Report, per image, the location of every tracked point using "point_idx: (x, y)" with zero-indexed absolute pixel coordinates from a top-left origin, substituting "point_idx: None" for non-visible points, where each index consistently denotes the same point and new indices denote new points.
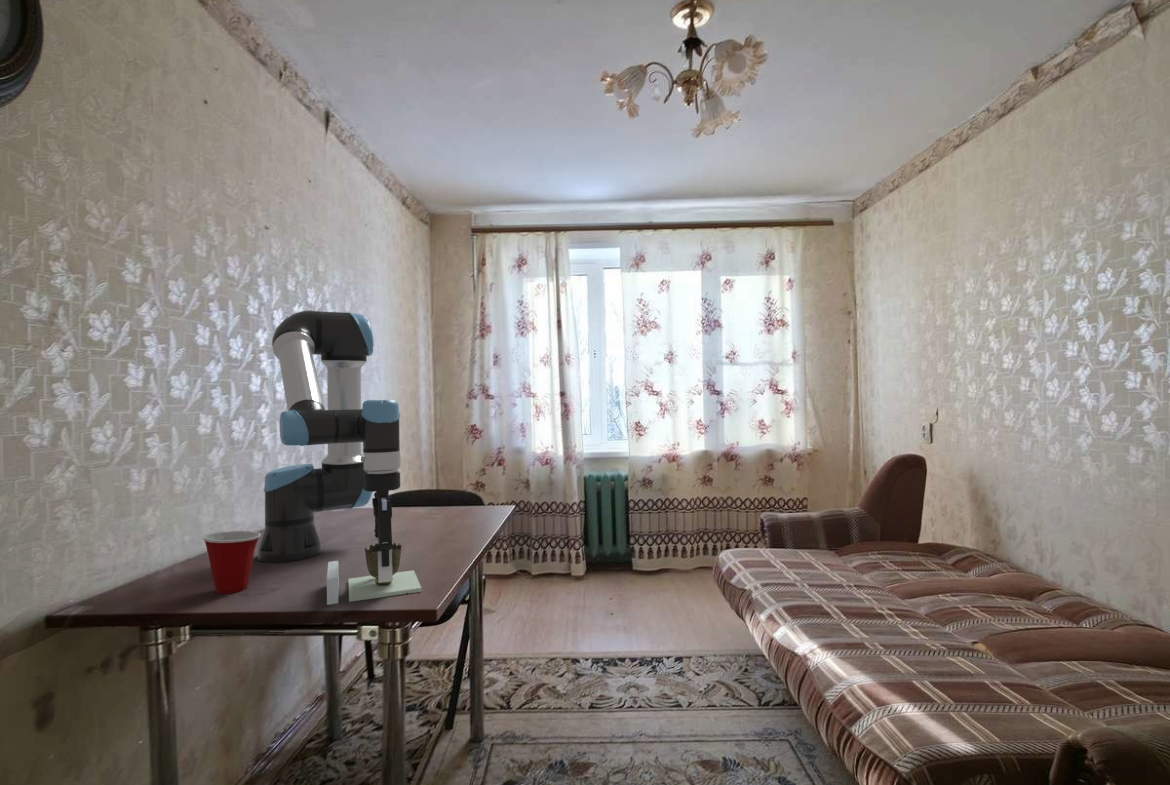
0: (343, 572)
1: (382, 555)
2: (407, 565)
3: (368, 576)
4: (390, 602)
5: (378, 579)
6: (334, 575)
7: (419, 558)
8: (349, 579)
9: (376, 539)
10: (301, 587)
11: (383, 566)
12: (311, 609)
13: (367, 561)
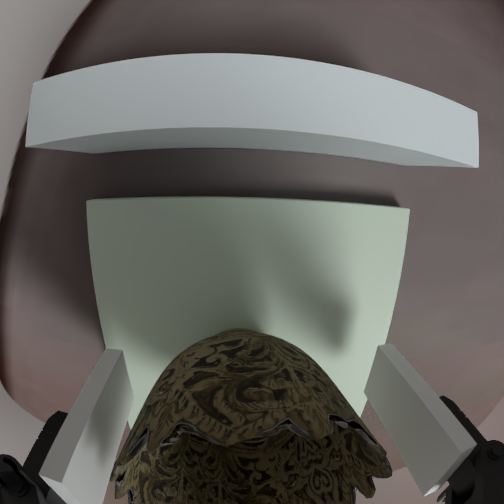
0: (501, 204)
1: (30, 459)
2: (442, 392)
3: (392, 295)
4: (53, 340)
5: (101, 357)
6: (86, 113)
7: (466, 405)
8: (395, 212)
9: (456, 457)
10: (408, 37)
11: (57, 417)
12: (81, 62)
13: (200, 374)
